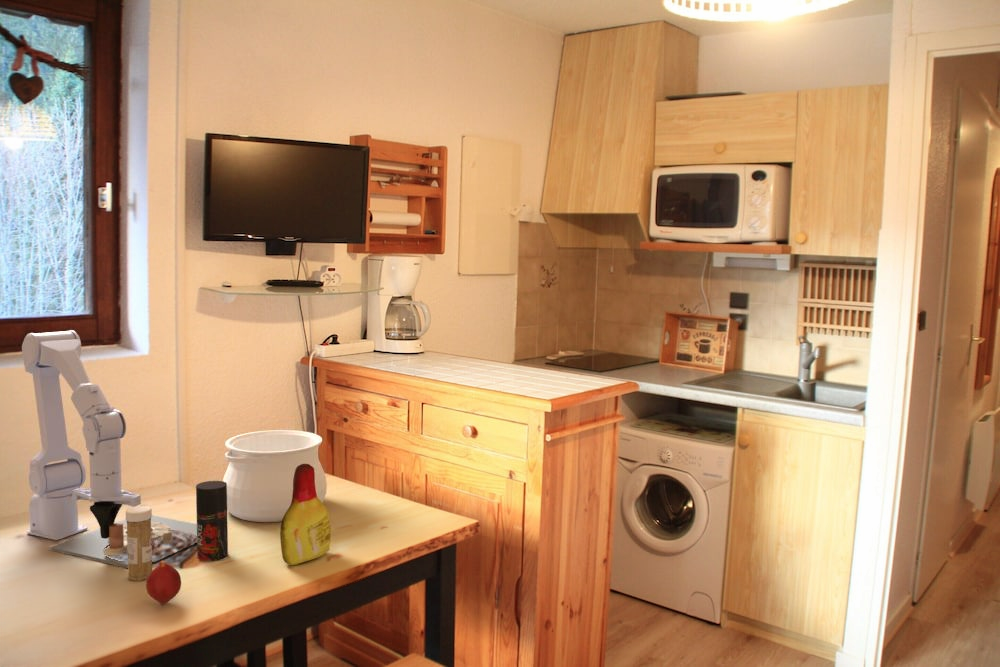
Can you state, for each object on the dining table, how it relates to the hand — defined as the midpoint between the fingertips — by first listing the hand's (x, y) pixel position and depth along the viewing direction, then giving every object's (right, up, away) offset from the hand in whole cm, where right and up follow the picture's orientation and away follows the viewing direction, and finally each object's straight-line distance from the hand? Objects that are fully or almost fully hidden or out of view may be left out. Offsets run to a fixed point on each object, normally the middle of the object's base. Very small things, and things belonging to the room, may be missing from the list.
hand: (107, 536), depth 170 cm
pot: (+26, -1, +32) cm, 41 cm away
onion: (+20, -7, -21) cm, 30 cm away
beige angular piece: (+2, -2, +6) cm, 7 cm away
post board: (+3, -3, +9) cm, 10 cm away
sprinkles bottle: (+11, -6, -10) cm, 16 cm away
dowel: (+10, -4, +5) cm, 12 cm away
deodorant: (+21, -4, +1) cm, 22 cm away
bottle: (+40, -5, +1) cm, 40 cm away
